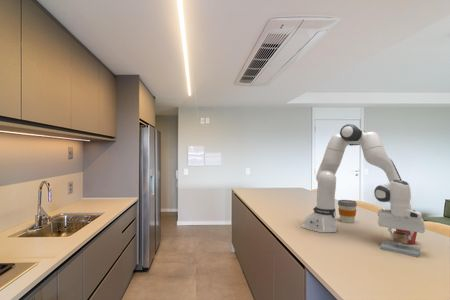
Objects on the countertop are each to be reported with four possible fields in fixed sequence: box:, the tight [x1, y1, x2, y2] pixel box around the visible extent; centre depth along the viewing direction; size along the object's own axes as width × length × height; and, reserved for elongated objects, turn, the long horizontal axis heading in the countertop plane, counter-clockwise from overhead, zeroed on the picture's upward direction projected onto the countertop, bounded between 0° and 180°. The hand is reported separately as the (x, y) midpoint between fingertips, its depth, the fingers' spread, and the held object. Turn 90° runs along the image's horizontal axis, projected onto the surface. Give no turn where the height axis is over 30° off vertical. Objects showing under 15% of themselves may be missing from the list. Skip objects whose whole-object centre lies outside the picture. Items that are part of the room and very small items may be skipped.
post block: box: [379, 240, 421, 258], centre depth 134 cm, size 16×12×8 cm
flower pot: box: [395, 229, 418, 245], centre depth 146 cm, size 11×11×10 cm
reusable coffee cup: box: [337, 199, 358, 224], centre depth 189 cm, size 13×13×15 cm
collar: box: [392, 230, 408, 245], centre depth 134 cm, size 6×6×4 cm
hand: (400, 237), depth 134 cm, fingers closed on collar, 6 cm apart
